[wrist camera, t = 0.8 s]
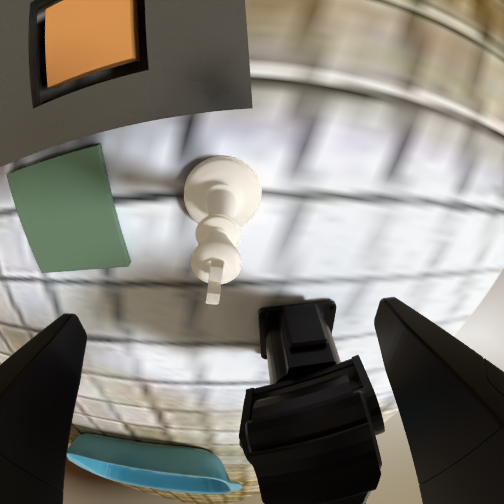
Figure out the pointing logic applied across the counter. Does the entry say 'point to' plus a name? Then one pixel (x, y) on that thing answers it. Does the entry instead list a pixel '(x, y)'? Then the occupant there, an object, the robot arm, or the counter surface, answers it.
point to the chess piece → (220, 217)
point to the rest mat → (69, 212)
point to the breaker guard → (130, 86)
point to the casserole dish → (152, 464)
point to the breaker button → (89, 38)
